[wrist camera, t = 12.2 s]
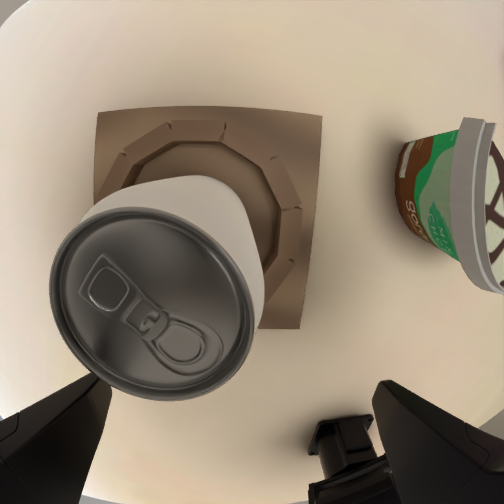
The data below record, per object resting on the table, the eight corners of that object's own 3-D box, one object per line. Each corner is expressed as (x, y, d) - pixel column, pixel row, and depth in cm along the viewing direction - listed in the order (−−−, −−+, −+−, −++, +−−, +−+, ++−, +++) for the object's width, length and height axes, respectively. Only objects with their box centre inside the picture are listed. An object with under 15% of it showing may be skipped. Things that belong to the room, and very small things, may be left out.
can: (203, 291, 19) (175, 435, 8) (130, 230, 18) (15, 316, 6) (268, 221, 18) (328, 312, 7) (192, 153, 17) (115, 127, 5)
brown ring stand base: (296, 322, 21) (304, 343, 18) (109, 309, 20) (93, 328, 18) (318, 118, 17) (332, 110, 14) (104, 114, 16) (84, 107, 13)
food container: (348, 192, 19) (437, 216, 9) (392, 129, 18) (490, 114, 8) (439, 281, 21) (514, 333, 12) (473, 227, 20) (553, 259, 10)
